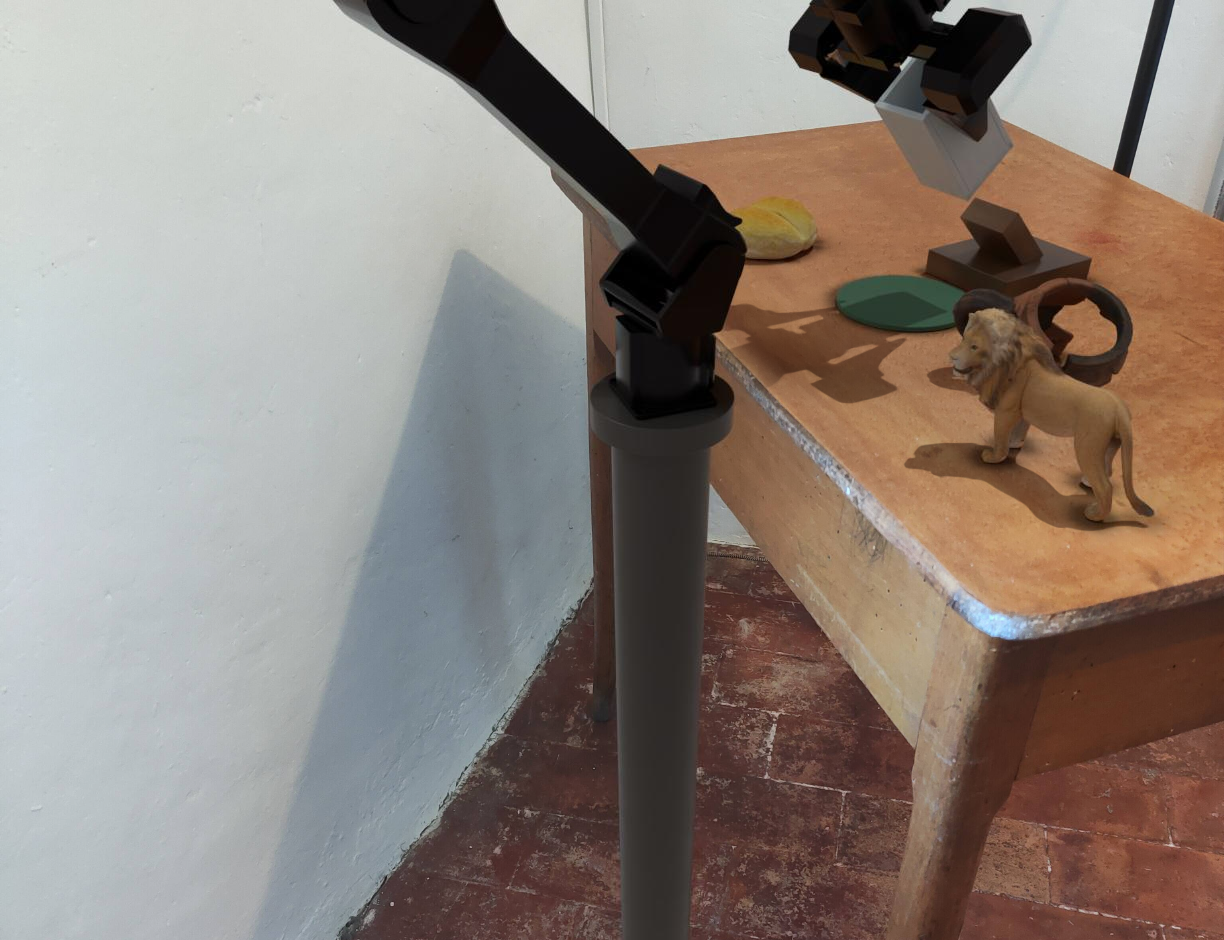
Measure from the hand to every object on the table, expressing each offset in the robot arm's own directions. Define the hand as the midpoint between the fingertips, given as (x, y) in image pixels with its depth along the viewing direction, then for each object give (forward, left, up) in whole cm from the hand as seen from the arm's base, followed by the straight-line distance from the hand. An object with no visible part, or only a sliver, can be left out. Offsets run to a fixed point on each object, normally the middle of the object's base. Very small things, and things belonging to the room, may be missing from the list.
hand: (944, 125), depth 80 cm
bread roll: (-5, +17, -14) cm, 22 cm away
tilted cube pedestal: (+10, +2, -14) cm, 17 cm away
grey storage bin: (0, 0, -5) cm, 5 cm away
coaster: (-1, 0, -14) cm, 14 cm away
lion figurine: (-8, -26, -14) cm, 31 cm away
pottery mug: (0, -15, -14) cm, 21 cm away
